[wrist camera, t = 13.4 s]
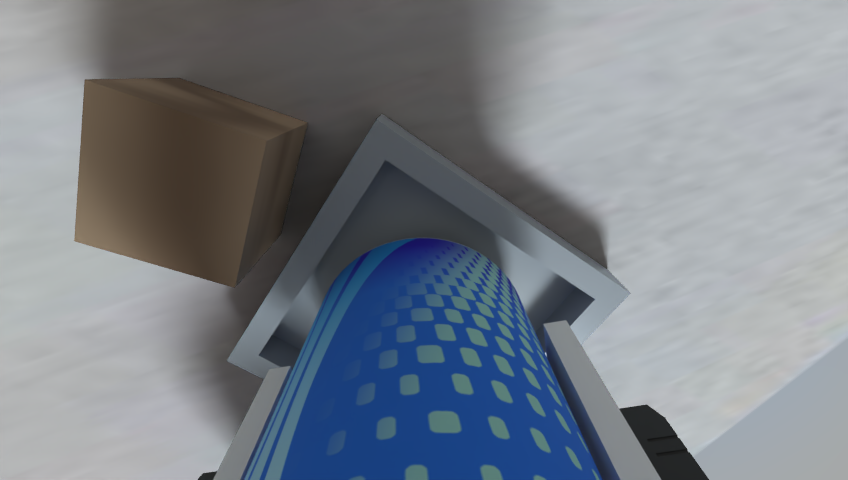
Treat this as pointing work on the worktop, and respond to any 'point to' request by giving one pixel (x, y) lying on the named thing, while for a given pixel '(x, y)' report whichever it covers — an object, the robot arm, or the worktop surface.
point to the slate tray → (422, 218)
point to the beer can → (422, 379)
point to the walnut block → (183, 175)
